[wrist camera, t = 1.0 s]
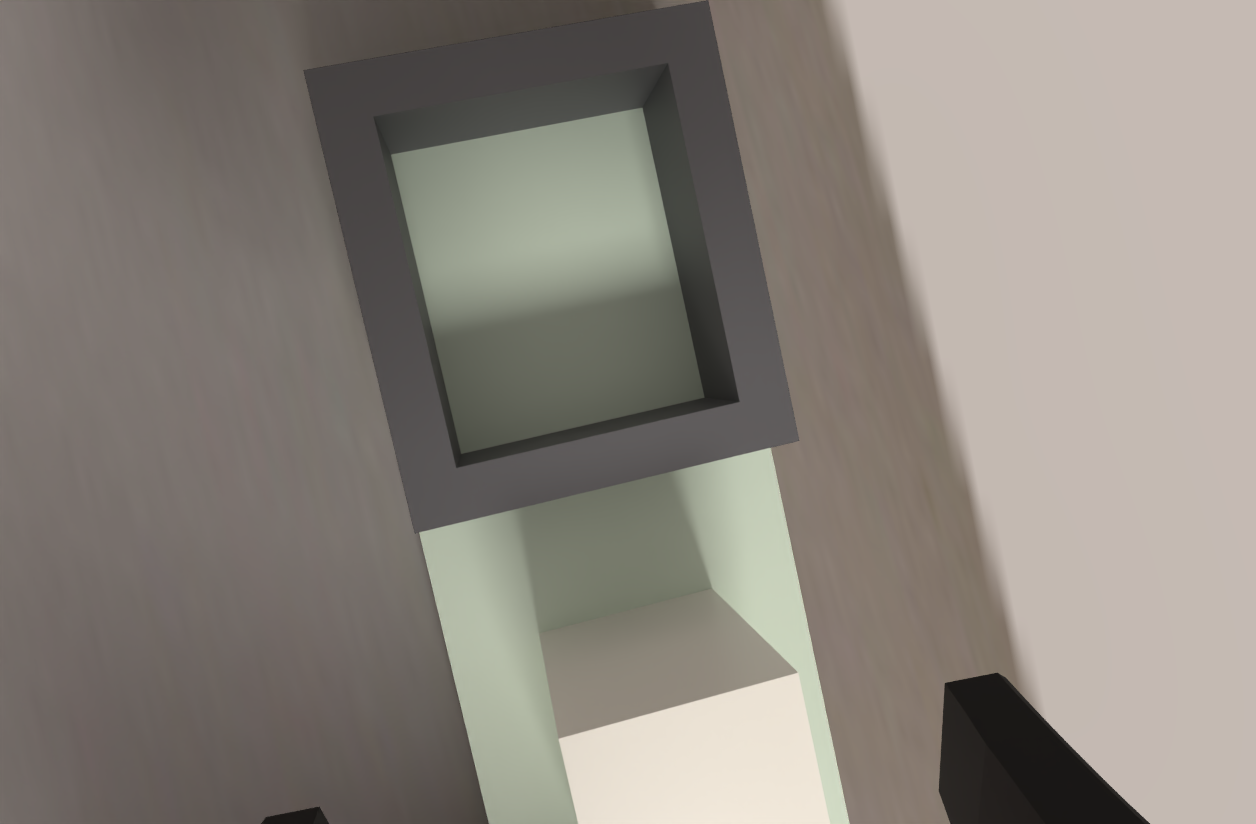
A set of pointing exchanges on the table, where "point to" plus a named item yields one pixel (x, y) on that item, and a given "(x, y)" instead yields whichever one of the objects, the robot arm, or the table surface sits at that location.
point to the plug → (681, 719)
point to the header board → (568, 354)
